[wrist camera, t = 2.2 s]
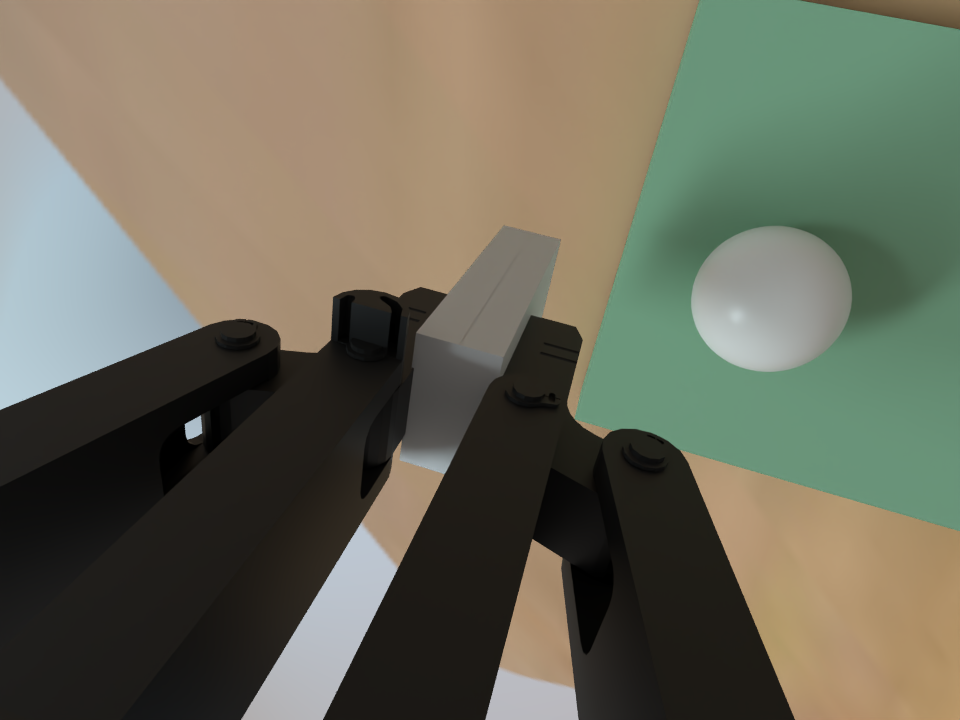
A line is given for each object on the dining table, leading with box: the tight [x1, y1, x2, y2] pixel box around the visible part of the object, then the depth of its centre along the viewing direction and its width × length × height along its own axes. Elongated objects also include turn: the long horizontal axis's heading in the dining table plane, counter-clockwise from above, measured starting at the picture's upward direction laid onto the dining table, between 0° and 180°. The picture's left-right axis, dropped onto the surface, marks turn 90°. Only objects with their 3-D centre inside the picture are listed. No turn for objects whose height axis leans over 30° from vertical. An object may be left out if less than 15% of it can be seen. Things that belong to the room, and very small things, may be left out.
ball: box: [691, 226, 852, 372], centre depth 17 cm, size 4×4×4 cm
